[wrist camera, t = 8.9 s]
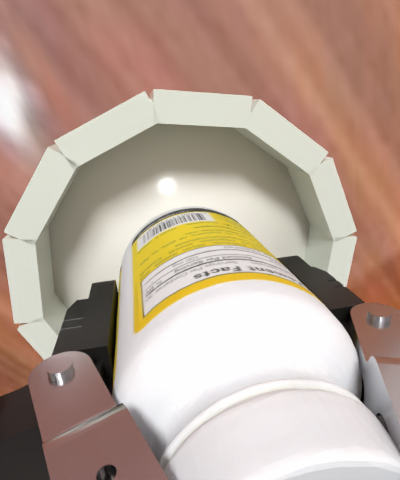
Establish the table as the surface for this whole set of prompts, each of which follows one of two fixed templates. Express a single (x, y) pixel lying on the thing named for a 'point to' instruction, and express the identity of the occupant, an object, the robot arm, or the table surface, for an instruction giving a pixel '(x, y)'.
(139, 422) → the supplement bottle
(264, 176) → the sage bowl
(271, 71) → the table surface
